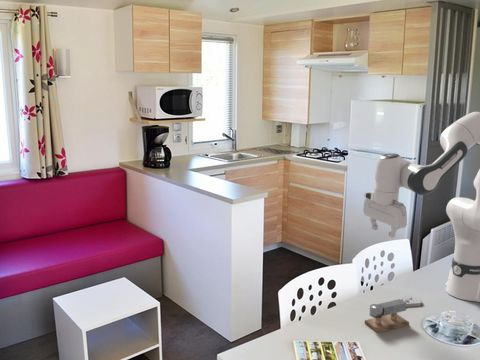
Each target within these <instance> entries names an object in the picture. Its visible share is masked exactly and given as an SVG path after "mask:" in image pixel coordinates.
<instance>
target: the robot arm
mask: <svg viewBox="0 0 480 360" xmlns="http://www.w3.org/2000/svg"><path fill="white" fill-rule="evenodd" d="M439 137H440V138H439V143H440V146H441V148H442V150H443V151H444V152H443V153H442V154H441V155H440V156H438V158H437V159H436V160H435V161H433V162H432V163H430V164H427V165H421V164H417V163H415V162H413V161H409V160H407V159H404V158H403V157H402V156H401V155H400V154H398V153H385V154H382V155H380V156H379V157H378V158H377V161H376V164H375V165H376V166H375V172H374V179H375V185H374V187H373V191H367V192H364V198H365V199H364V202H363V214H364V216H366V217H369V218H370V219H369V220H370V223H371V229H372V230H374V231H378V229H379V225H378V224H377V222H381V223H383V224H385V225H388V226H390V229H391V230H390V231H388V237H390V238H395V237H396V234H397V233H396V232H397V231H398V230H399V229H405V228H407V225H408V224H407V223H408V215H407V214H408V213H407V212H408V211H407V206H405V205H404V204H405V203H403V202H399V196H400V195H399V194H400V188H405V189H407V190H409V191H412V192H414V193H416V194H417V195H420V196H427V195H430V194H432V193H433V192H434V191H435V190H436V189H437V188H438V186H439V185H440V182H441V181H442V180H443V179H444V178H445V177H446V176H447V175H448V174H449V173H451V171H452V170H453V169H454V168H455V167H456V166H457V165H459V164H460V163H461V162H462V161H463V160H464V158H465V157H466V155H467V153H468V151H469V150H470V148H472V147H473V146H475V145H476V146H477V145H478V146H480V111H473V112H470V113H468V114H465V115H463V116H462V117H461V118H459V119H457V120H455V121H454V122H453V123H451V124H450V125H449V126H447V127H446V128H445V129H444V130H443V131H442V132H441V134H440V135H439ZM473 187H474V189H475V190H476V191H475V192H476V194H475V195H476V196H475V200H474V199H471V198H468V197H461V196H460V197H457V196H456V197H453V198H452V199H450V200H449V201H448V202H447V205H446V208H445V212H446V216H447V217H448V218H449V220H450V222H451V226H452V229H453V233H454V254H453V257H452V261H451V268H450V269H449V274H448V278H447V281H445V286H446V287H445V291H446V293H447V294H448V295H450V296H452V297H453V298H454V297H455V298H456V299H460V300H463V301H469V302H477V303H480V168H479V169H478V172H477V174H476V175H475V178H474V179H473Z"/></svg>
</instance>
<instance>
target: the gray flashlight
mask: <svg viewBox="0 0 480 360" xmlns="http://www.w3.org/2000/svg"><path fill="white" fill-rule="evenodd" d="M406 310H407V307H406V302H404V301H402V298H401V299H400V298H399V299H395V300H389V301H386V302H381V303H372V304H370V305H369V316H370V317H372V318H381V317H382V315H383V316H385V315H389V314H393V313H397V314H398V313H401V312H405V311H406Z"/></svg>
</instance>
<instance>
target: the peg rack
mask: <svg viewBox="0 0 480 360" xmlns="http://www.w3.org/2000/svg"><path fill="white" fill-rule="evenodd" d="M364 324H365V325H366V326H367V327H368V328H370V329H372V330H373V331H374V332H375V331H376V332H375V333H377V334H378V333H379V334H380V333H382V332H386V331H390V330H395V329H398V328H403V327H406V326H409V325H410V322H409V321H408V320H407V319H405V318H404V317H402V315H401V316H400V315H399V314H398V313H393V314H389V315H385V316H382V317H381V318H374V317H372V318H368V319H364Z"/></svg>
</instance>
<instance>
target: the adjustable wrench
mask: <svg viewBox="0 0 480 360" xmlns="http://www.w3.org/2000/svg"><path fill="white" fill-rule="evenodd" d="M401 300H402V301H404V302H406V308H408V307H419V306H421V305H422V303H423V301H422V299H421V298H419V299H417V300H413V296H411V295H408V296H404V297H402V298H401ZM382 316H383V315H382Z"/></svg>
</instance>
